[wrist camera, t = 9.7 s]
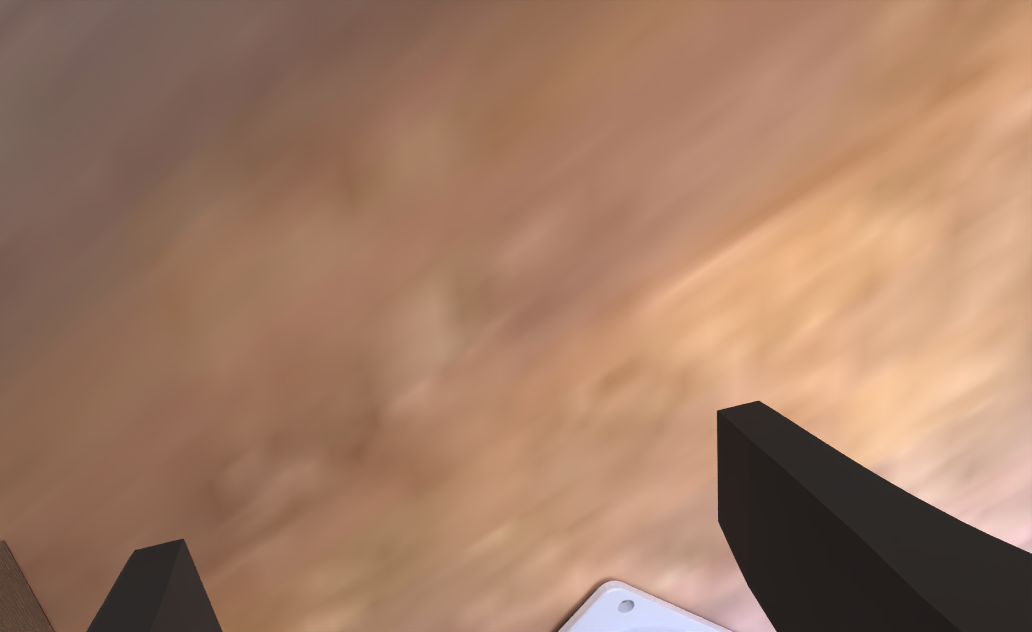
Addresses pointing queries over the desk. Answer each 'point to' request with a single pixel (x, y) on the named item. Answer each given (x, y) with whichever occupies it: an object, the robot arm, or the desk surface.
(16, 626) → the jack panel
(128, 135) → the desk surface
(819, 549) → the robot arm
